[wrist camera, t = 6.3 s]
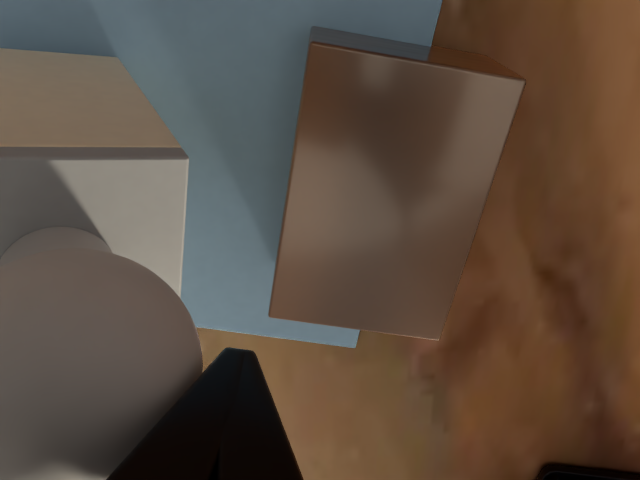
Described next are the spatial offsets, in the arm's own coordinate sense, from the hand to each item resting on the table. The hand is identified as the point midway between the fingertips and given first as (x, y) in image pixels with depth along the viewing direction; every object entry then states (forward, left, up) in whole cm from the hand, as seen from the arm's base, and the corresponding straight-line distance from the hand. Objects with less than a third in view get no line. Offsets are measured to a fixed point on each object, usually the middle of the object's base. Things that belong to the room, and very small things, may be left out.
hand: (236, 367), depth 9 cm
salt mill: (+2, 0, -9) cm, 9 cm away
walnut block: (-3, 0, -12) cm, 12 cm away
